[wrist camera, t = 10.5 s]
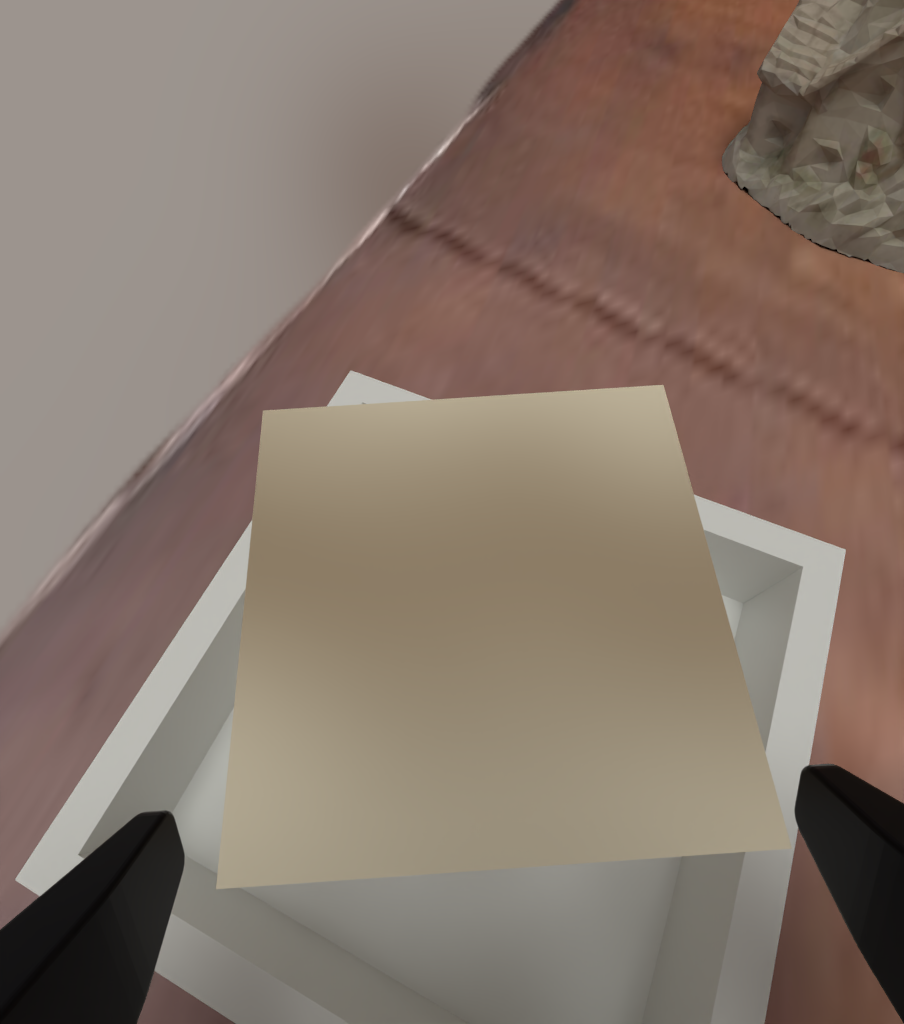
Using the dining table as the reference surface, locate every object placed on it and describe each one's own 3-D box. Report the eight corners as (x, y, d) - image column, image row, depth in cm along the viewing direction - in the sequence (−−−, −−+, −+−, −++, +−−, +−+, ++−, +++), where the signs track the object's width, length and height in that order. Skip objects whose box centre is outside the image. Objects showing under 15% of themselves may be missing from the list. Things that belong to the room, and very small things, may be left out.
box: (638, 1168, 14) (711, 1332, 10) (123, 854, 17) (15, 879, 13) (768, 596, 20) (845, 549, 16) (371, 442, 23) (350, 370, 19)
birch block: (560, 796, 17) (792, 849, 5) (392, 808, 17) (216, 889, 5) (539, 629, 19) (663, 384, 7) (390, 639, 19) (262, 410, 7)
